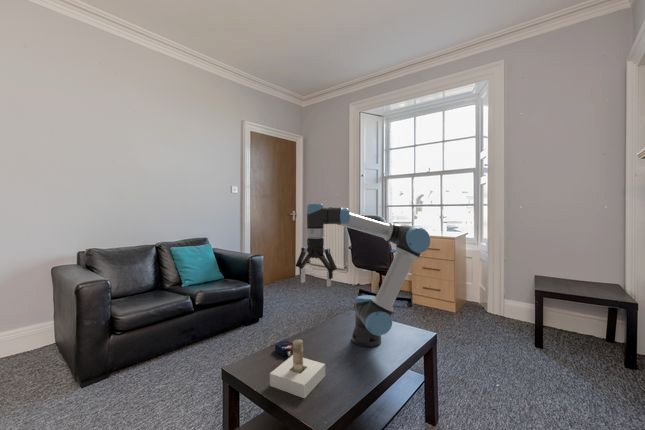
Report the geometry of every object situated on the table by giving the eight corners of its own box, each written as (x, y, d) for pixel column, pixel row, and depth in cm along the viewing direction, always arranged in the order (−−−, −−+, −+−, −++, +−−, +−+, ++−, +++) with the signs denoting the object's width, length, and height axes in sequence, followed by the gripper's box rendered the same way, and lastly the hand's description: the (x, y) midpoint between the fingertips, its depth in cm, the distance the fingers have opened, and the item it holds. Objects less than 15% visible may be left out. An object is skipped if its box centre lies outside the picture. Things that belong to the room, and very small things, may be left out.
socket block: (293, 365, 128) (293, 354, 128) (325, 375, 120) (325, 364, 120) (270, 385, 114) (269, 373, 114) (304, 398, 106) (304, 385, 106)
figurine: (291, 354, 130) (271, 343, 141) (292, 363, 130) (272, 352, 141) (306, 347, 136) (286, 337, 147) (306, 356, 137) (286, 345, 147)
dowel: (296, 376, 120) (296, 338, 119) (305, 379, 118) (304, 340, 117) (291, 382, 116) (290, 342, 116) (299, 385, 114) (299, 345, 114)
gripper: (288, 237, 135) (288, 282, 135) (336, 239, 123) (336, 289, 123) (297, 235, 141) (297, 278, 142) (343, 238, 129) (344, 285, 130)
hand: (315, 284), depth 133 cm, fingers open, 13 cm apart
